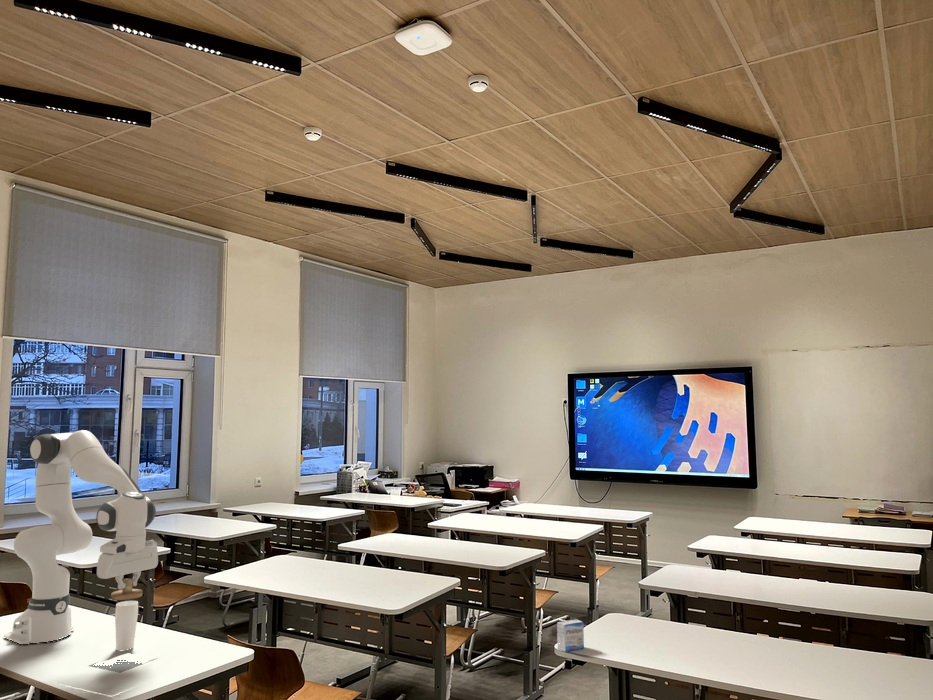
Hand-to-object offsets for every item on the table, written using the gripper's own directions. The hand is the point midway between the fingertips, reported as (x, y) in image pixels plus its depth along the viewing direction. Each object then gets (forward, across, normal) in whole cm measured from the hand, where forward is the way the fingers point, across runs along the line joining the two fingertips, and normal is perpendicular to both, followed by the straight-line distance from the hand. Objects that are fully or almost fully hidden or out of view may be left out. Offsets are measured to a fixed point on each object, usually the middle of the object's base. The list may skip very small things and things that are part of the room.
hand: (127, 587), depth 215 cm
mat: (+22, +2, +4) cm, 22 cm away
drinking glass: (+23, -7, -8) cm, 25 cm away
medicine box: (+20, -70, +127) cm, 146 cm away
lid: (+3, 0, 0) cm, 3 cm away
